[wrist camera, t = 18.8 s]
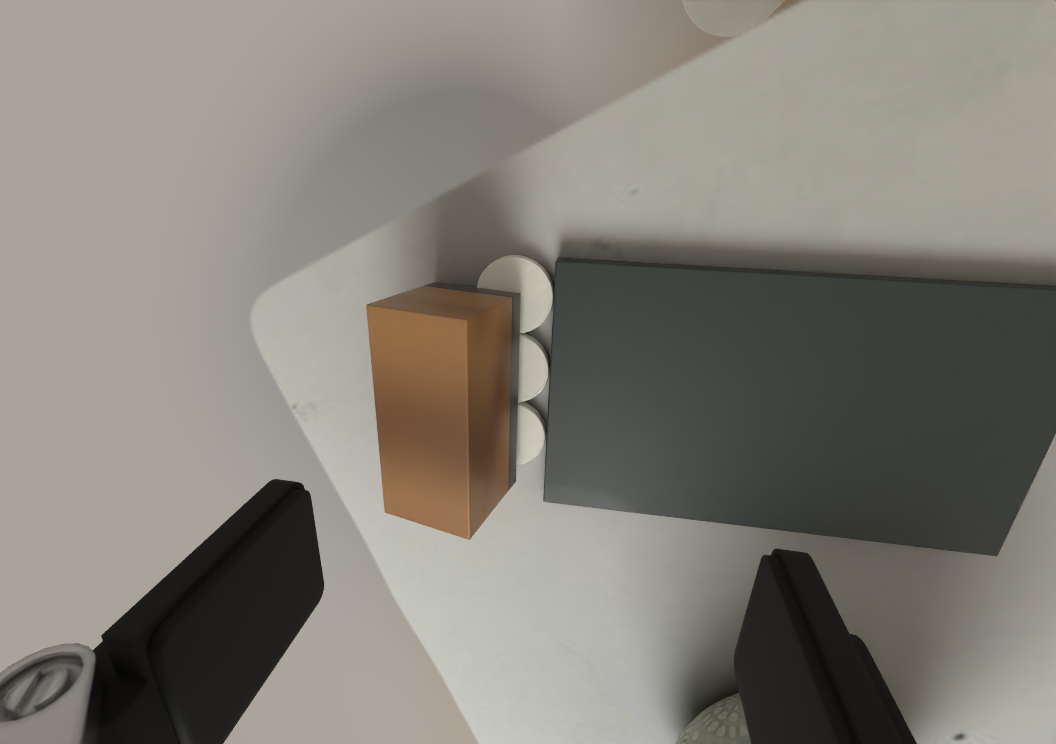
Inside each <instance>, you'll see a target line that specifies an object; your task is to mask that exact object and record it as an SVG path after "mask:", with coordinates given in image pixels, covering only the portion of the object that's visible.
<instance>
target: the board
mask: <svg viewBox="0 0 1056 744" xmlns="http://www.w3.org/2000/svg"><path fill="white" fill-rule="evenodd" d="M1055 434H1056V286H1045V285H1027V284H1010V283H992V282H975V281H957V280H940V279H922V278H905V277H887V276H870V275H852V274H835V273H817V272H800V271H782V270H765V269H747V268H730V267H712V266H695V265H677V264H660V263H642V262H625V261H607V260H590V259H572V258H558V259H557V261H556V268H555V287H554V307H553V326H552V345H551V364H550V383H549V403H548V422H547V441H546V460H545V479H544V499H543V500H544V502H551V503H559V504H567V505H576V506H584V507H592V508H601V509H609V510H617V511H625V512H634V513H642V514H650V515H659V516H667V517H675V518H684V519H692V520H700V521H708V522H717V523H725V524H733V525H742V526H750V527H758V528H767V529H775V530H783V531H791V532H800V533H808V534H816V535H825V536H833V537H841V538H850V539H858V540H866V541H874V542H883V543H891V544H899V545H908V546H916V547H924V548H933V549H941V550H949V551H957V552H966V553H974V554H982V555H991V556H997V555H998V553H999V551H1000V549H1001V547H1002V545H1003V543H1004V541H1005V539H1006V537H1007V535H1008V532H1009V530H1010V528H1011V526H1012V524H1013V522H1014V520H1015V518H1016V516H1017V514H1018V511H1019V509H1020V507H1021V505H1022V503H1023V501H1024V499H1025V497H1026V495H1027V493H1028V491H1029V488H1030V486H1031V484H1032V482H1033V480H1034V478H1035V476H1036V474H1037V472H1038V470H1039V467H1040V465H1041V463H1042V461H1043V459H1044V457H1045V455H1046V453H1047V451H1048V449H1049V446H1050V444H1051V442H1052V440H1053V438H1054V436H1055Z"/></svg>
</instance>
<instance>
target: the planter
mask: <svg viewBox="0 0 1056 744" xmlns="http://www.w3.org/2000/svg"><path fill="white" fill-rule="evenodd" d="M676 744H751V741H750V737H749V732H748V728H747V724H746V719H745V715H744V711H743V706H742V702H741V698H740V693H737V694H734V695H731V696H729V697H726V698H724V699H722V700H720V701H718V702H716V703H715V704H713V705H711V706H710V707H708V708H707V709H705V710H704V711H703V712H701V713H700V714H699V715H698V716H697V717H696V718H694V719H693V721H692V722H691V723H690V724H689V725H688V726H687V727H686V728H685V730H684V731H683V732H682V734H681V735H680V737H679V738H678V740H677V742H676Z"/></svg>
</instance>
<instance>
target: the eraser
mask: <svg viewBox="0 0 1056 744" xmlns="http://www.w3.org/2000/svg"><path fill="white" fill-rule="evenodd" d="M520 305H521V293H516V292H508V291H500V290H492V289H485V288H477V287H469V286H461V285H453V284H445V283H437V282H434V283H431V284H428V285H425V286H422V287H419V288H416V289H413V290H410V291H407V292H404V293H401V294H398V295H395V296H392V297H389V298H385V299H382V300H379V301H376V302H373V303H370V304H367V318H368V329H369V340H370V351H371V362H372V374H373V385H374V396H375V407H376V418H377V430H378V441H379V452H380V463H381V475H382V486H383V497H384V508H385V512H386V513H389V514H392V515H395V516H398V517H401V518H404V519H407V520H410V521H413V522H416V523H419V524H422V525H426V526H429V527H432V528H435V529H438V530H441V531H444V532H447V533H450V534H453V535H456V536H459V537H463V538H466V539H471V537H472V536H473V535H474V533H475V532H476V531H477V530H478V528H479V527H480V526H481V525H482V523H483V522H484V521H485V520H486V518H487V517H488V516H489V514H490V513H491V512H492V511H493V509H494V508H495V507H496V506H497V504H498V503H499V502H500V500H501V499H502V498H503V497H504V495H505V494H506V493H507V492H508V490H509V489H510V488H511V487H512V485H513V484H514V483H515V482H516V455H517V418H518V380H519V343H520Z"/></svg>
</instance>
